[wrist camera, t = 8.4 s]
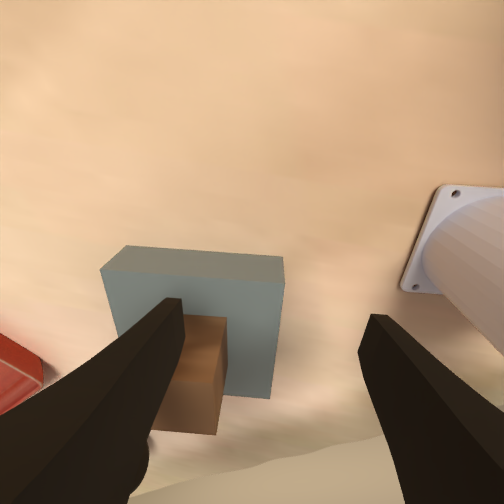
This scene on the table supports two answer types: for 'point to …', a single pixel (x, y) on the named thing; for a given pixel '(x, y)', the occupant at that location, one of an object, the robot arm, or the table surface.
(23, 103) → the table surface
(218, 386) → the walnut cube
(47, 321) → the table surface
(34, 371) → the plant saucer
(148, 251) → the slate-blue block
